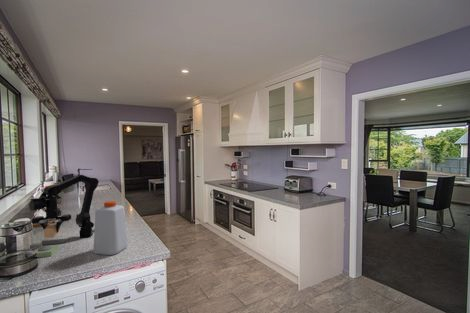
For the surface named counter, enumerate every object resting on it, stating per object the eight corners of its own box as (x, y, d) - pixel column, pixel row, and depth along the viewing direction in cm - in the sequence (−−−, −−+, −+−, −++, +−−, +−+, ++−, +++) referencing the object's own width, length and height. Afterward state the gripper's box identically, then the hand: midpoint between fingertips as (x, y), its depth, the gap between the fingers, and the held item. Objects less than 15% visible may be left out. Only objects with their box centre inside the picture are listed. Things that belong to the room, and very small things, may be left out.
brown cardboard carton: (59, 232, 157) (59, 222, 156) (54, 237, 149) (53, 226, 149) (50, 233, 155) (50, 223, 155) (44, 237, 148) (44, 227, 147)
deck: (66, 242, 160) (65, 237, 160) (51, 256, 139) (51, 250, 139) (42, 244, 156) (41, 239, 156) (23, 258, 136) (23, 253, 136)
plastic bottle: (114, 256, 138) (113, 205, 137) (90, 254, 141) (88, 204, 140) (130, 245, 153) (129, 199, 152) (108, 244, 156) (107, 199, 155)
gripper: (74, 203, 162) (74, 227, 163) (39, 205, 157) (40, 230, 158) (67, 207, 151) (68, 233, 152) (30, 209, 146) (31, 236, 147)
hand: (52, 232), depth 152 cm, fingers closed on brown cardboard carton, 5 cm apart
